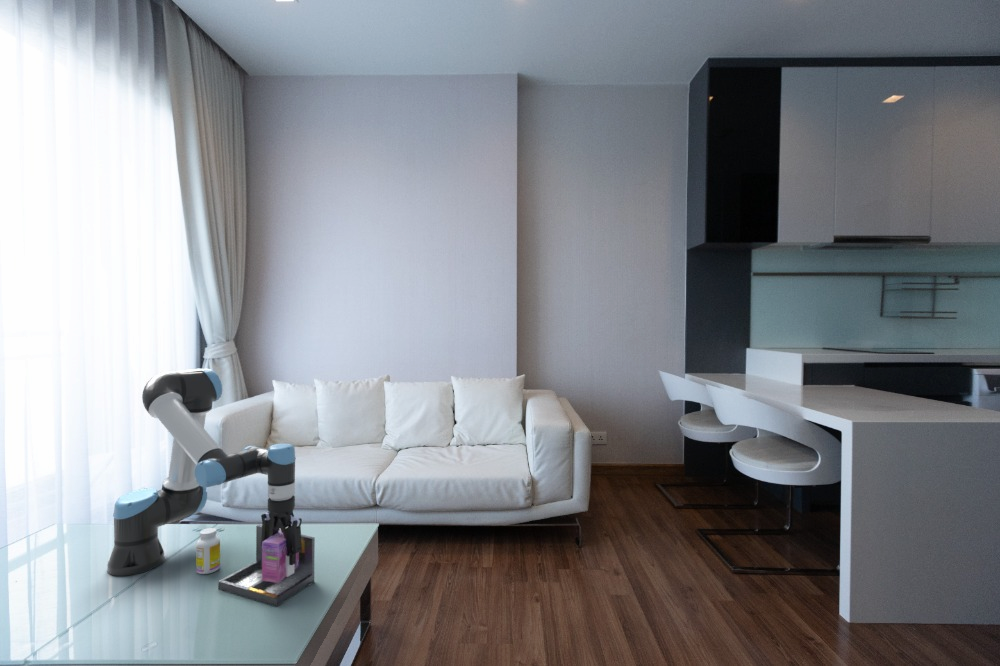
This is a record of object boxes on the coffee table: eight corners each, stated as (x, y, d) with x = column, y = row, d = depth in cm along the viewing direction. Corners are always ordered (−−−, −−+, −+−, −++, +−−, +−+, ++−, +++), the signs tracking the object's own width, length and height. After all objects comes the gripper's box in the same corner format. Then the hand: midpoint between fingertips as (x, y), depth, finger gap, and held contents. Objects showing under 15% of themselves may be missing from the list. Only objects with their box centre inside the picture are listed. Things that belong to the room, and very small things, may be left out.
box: (278, 583, 147) (278, 543, 147) (261, 581, 148) (261, 541, 148) (299, 566, 157) (299, 528, 157) (283, 564, 159) (283, 527, 158)
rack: (218, 589, 152) (218, 543, 152) (258, 566, 166) (258, 524, 166) (276, 607, 144) (277, 558, 143) (314, 581, 158) (314, 537, 157)
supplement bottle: (222, 563, 168) (222, 525, 167) (217, 573, 162) (217, 533, 161) (199, 566, 166) (199, 527, 165) (193, 576, 160) (193, 536, 159)
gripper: (247, 495, 152) (247, 571, 153) (297, 505, 145) (296, 584, 146) (267, 488, 159) (266, 560, 160) (315, 497, 152) (315, 572, 153)
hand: (281, 572), depth 153 cm, fingers closed on box, 6 cm apart
